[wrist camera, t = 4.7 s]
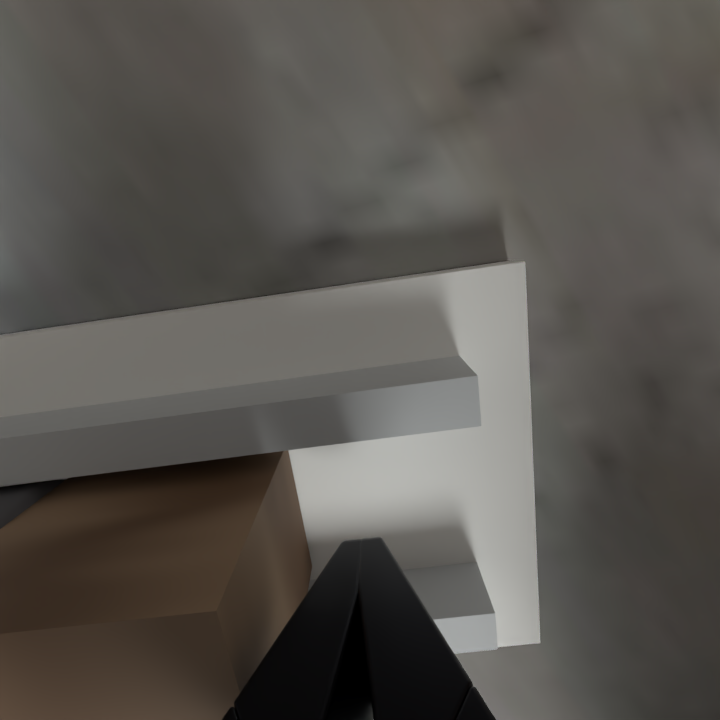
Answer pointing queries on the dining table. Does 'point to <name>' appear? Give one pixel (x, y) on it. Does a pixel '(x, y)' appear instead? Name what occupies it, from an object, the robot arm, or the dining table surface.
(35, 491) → the rod
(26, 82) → the dining table surface
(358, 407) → the channel board
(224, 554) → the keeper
